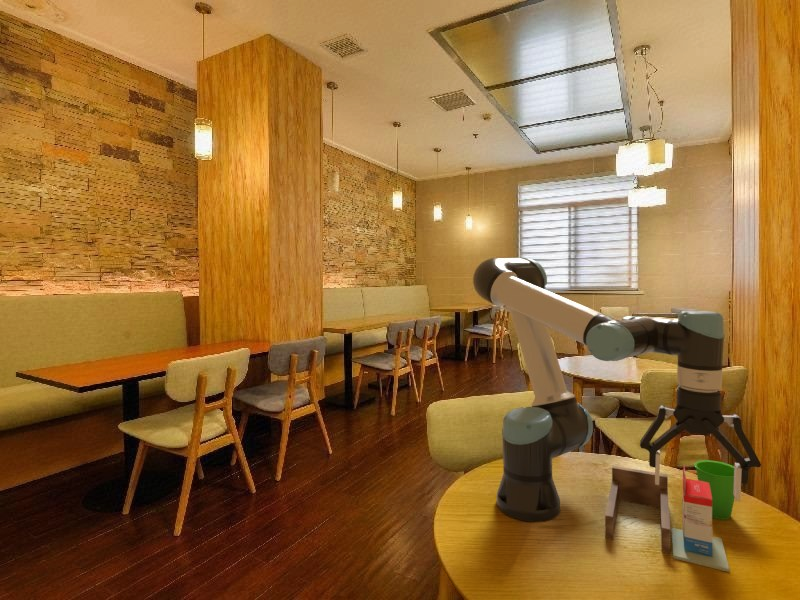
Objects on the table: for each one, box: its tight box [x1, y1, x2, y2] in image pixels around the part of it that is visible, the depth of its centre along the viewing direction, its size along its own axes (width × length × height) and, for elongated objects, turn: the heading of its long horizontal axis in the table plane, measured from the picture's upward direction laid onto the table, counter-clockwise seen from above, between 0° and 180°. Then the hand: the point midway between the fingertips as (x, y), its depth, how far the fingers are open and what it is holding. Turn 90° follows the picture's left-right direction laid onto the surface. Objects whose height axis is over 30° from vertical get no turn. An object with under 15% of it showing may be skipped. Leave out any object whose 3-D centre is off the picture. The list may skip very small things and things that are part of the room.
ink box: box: [682, 465, 713, 557], centre depth 91 cm, size 8×5×15 cm, turn 149°
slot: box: [604, 465, 671, 554], centre depth 101 cm, size 12×20×8 cm, turn 150°
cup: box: [693, 459, 735, 520], centre depth 104 cm, size 9×9×11 cm
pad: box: [670, 527, 730, 573], centre depth 91 cm, size 9×11×1 cm
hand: (695, 489), depth 91 cm, fingers open, 13 cm apart
